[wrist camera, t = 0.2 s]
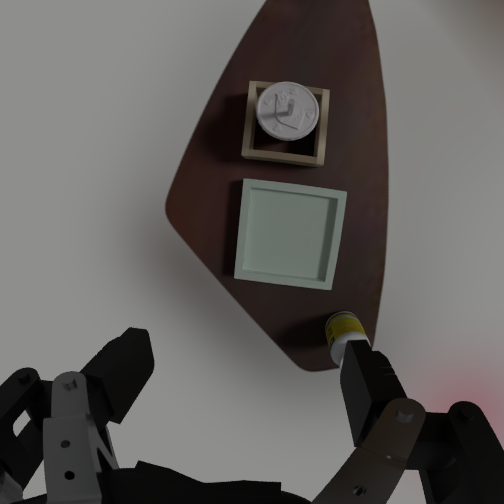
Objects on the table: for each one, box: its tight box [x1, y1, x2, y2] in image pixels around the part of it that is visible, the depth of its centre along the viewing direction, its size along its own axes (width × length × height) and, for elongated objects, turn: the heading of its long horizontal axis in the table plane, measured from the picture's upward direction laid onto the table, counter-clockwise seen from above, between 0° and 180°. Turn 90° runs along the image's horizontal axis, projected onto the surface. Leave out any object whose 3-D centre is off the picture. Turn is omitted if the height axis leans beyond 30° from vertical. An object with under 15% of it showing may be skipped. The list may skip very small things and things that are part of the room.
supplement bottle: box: [325, 311, 370, 369], centre depth 35 cm, size 5×5×10 cm
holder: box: [241, 81, 330, 167], centre depth 32 cm, size 10×10×4 cm
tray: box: [234, 179, 347, 290], centre depth 36 cm, size 13×13×2 cm
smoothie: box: [256, 82, 319, 141], centre depth 28 cm, size 6×6×14 cm
